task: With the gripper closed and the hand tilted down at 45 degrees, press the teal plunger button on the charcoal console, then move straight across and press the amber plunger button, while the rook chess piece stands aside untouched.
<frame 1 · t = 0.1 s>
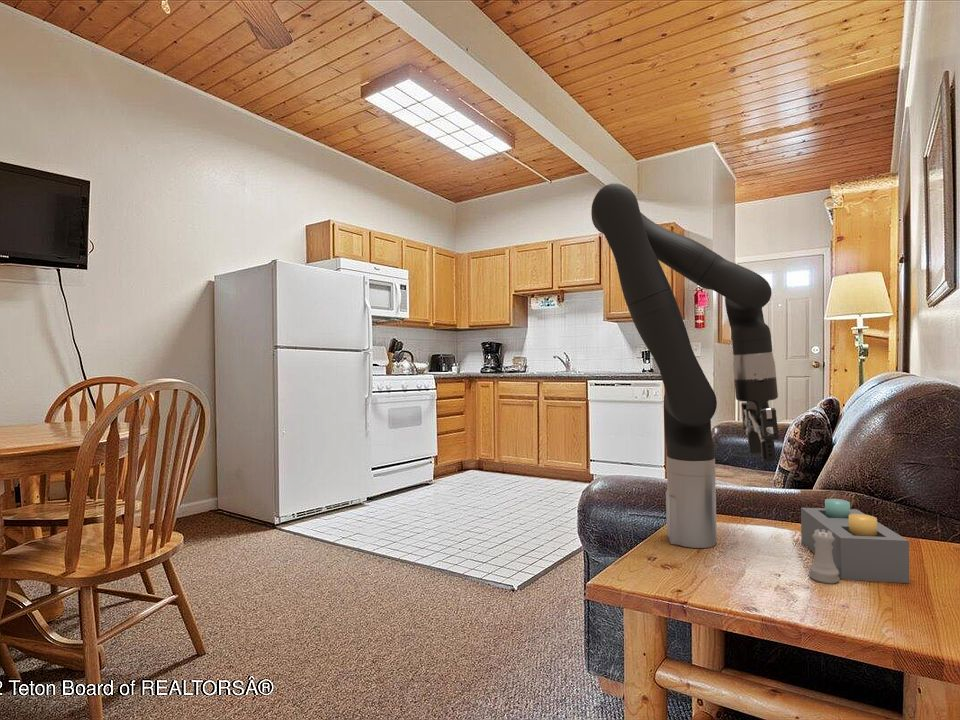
hand: (762, 457, 108), 17 cm above the table, tool pointing down, fingers open, 8 cm apart
amber button: (862, 527, 94), point 8 cm above the table, slide at 0.0 cm
console: (850, 560, 99), on the table
rook chess piece: (824, 580, 91), on the table
teal button: (837, 510, 103), point 8 cm above the table, slide at 0.0 cm
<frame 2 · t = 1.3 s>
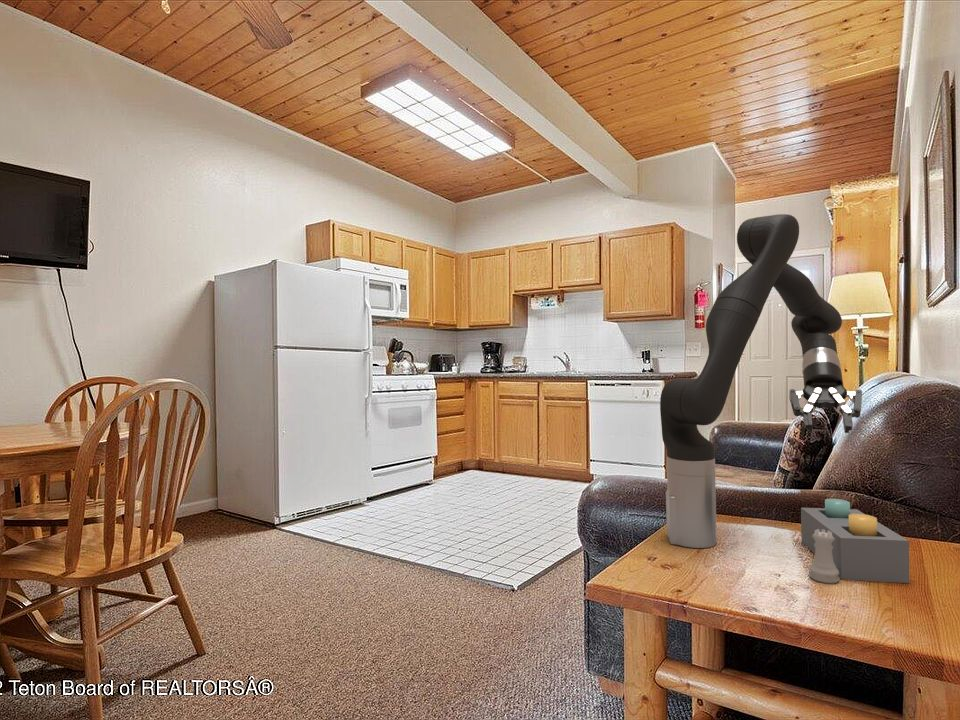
hand: (828, 429, 115), 21 cm above the table, tool tilted 45°, fingers open, 6 cm apart
nothing on the table moved.
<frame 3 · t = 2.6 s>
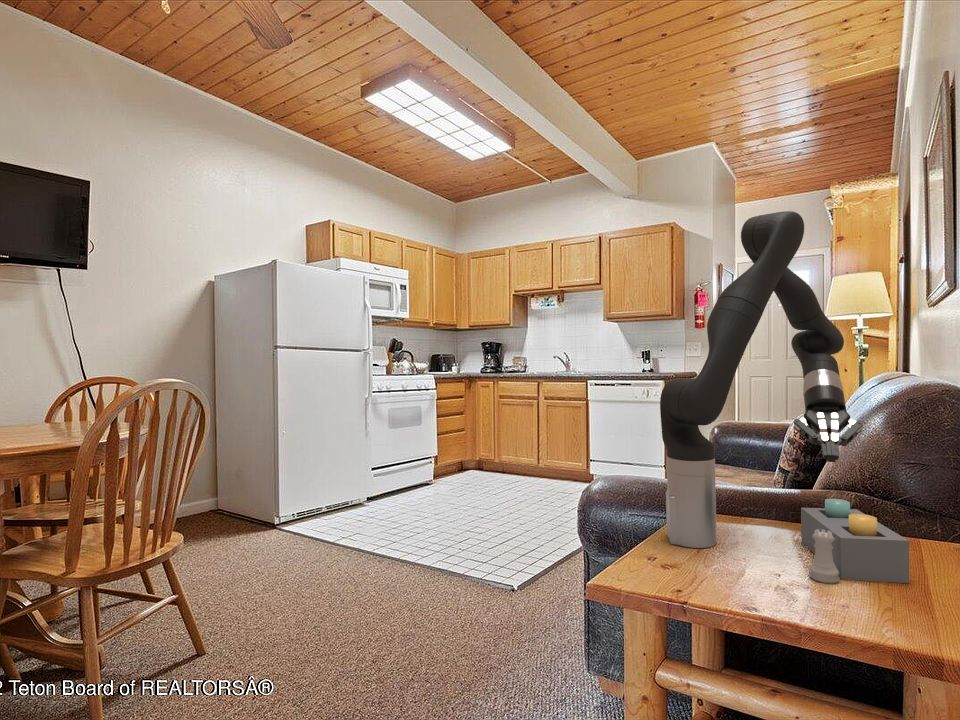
hand: (831, 459, 109), 16 cm above the table, tool tilted 45°, fingers closed
nothing on the table moved.
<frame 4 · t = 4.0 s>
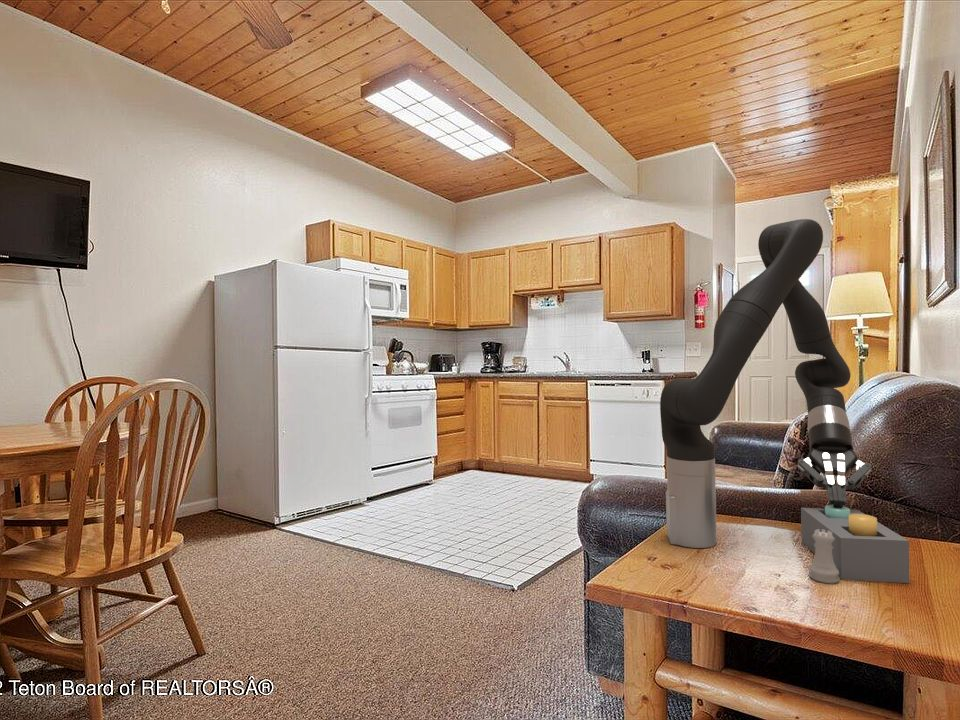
hand: (838, 505, 103), 9 cm above the table, tool tilted 45°, fingers closed
teal button: (837, 517, 103), point 6 cm above the table, slide at 1.3 cm, touching gripper
everything else where it was.
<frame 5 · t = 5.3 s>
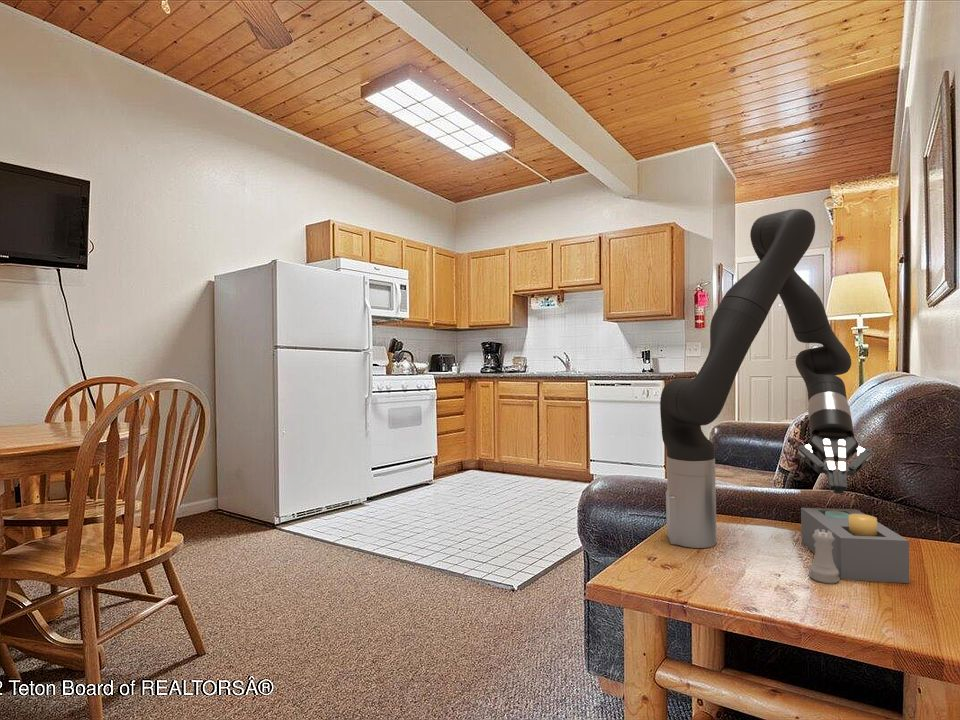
hand: (838, 490, 102), 12 cm above the table, tool tilted 45°, fingers closed
teal button: (837, 522, 103), point 5 cm above the table, slide at 2.4 cm
everything else where it was.
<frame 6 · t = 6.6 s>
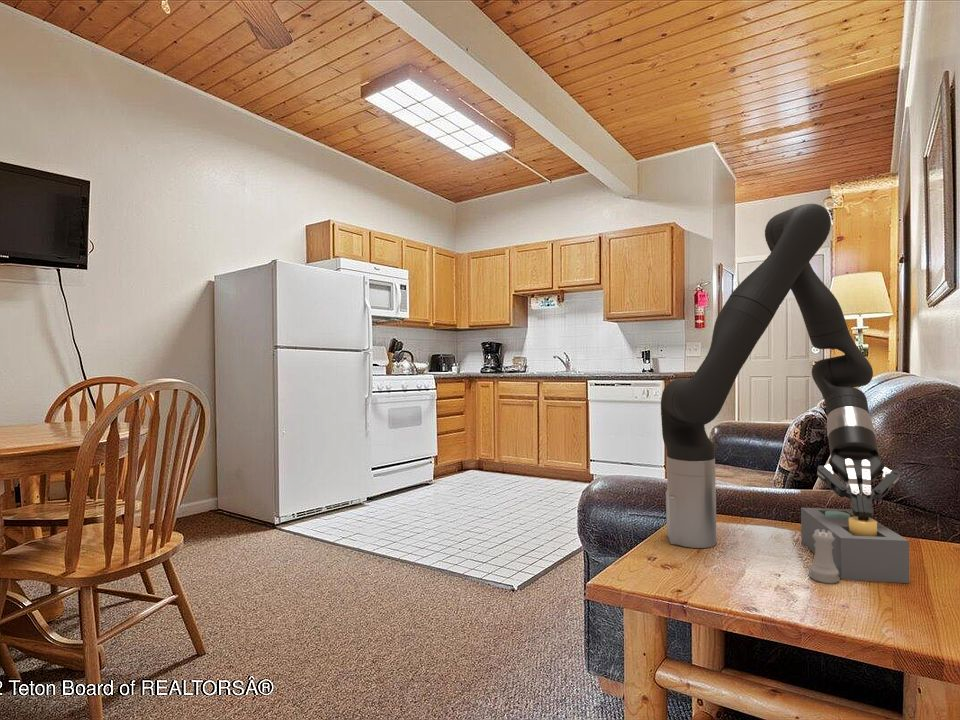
hand: (864, 517, 93), 10 cm above the table, tool tilted 45°, fingers closed
amber button: (862, 530, 94), point 7 cm above the table, slide at 0.6 cm, touching gripper
everything else where it was.
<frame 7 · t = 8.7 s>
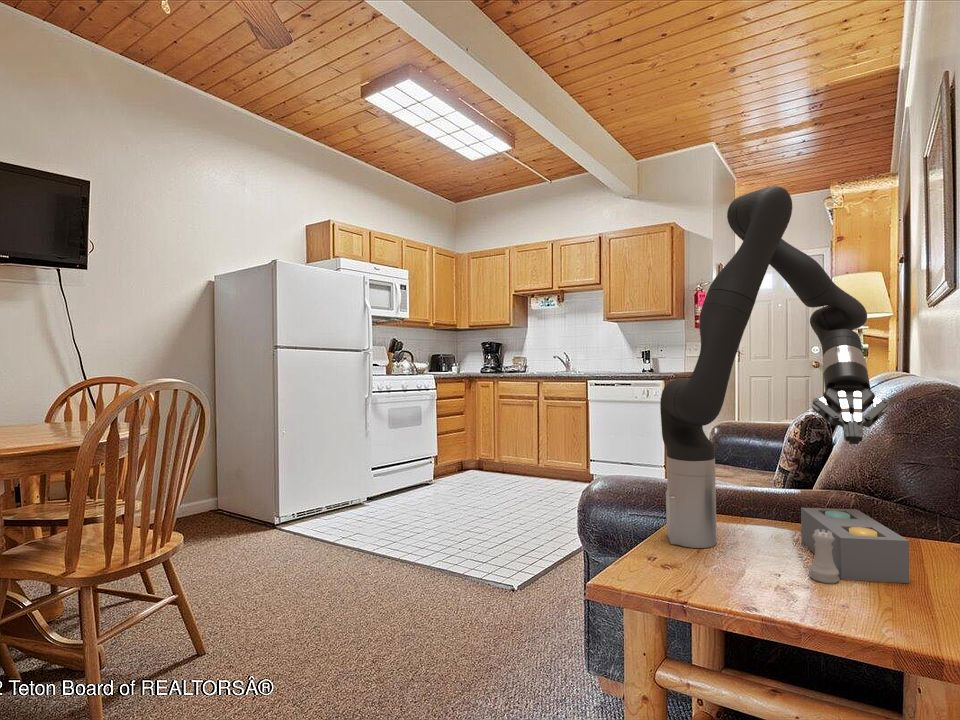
hand: (854, 441, 100), 21 cm above the table, tool tilted 45°, fingers closed
amber button: (862, 540, 94), point 5 cm above the table, slide at 2.4 cm
everything else where it was.
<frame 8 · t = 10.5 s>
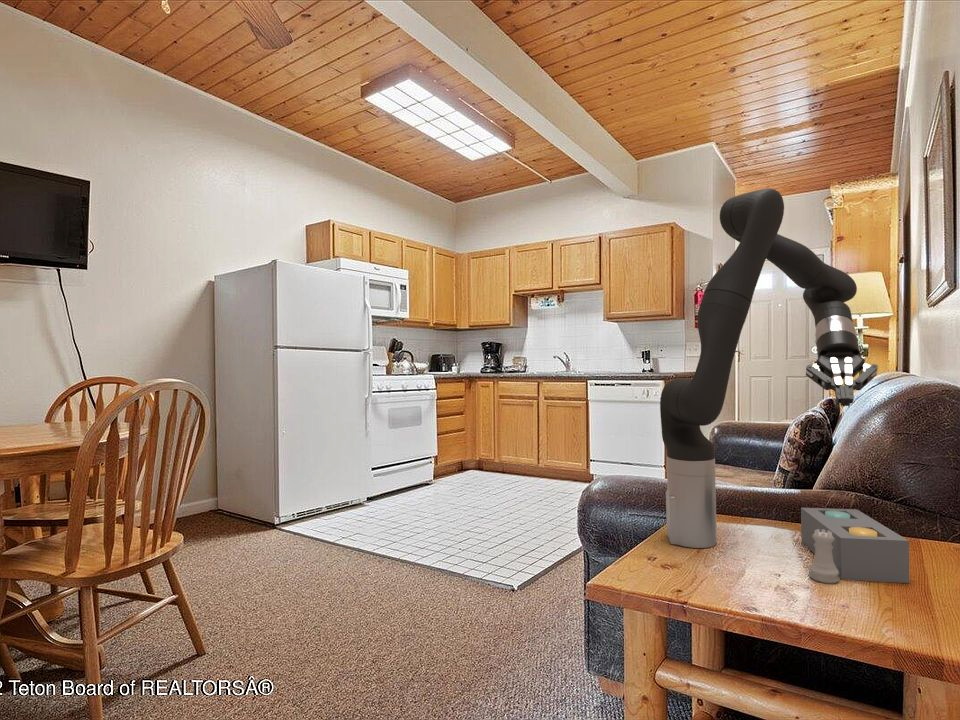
hand: (845, 403, 106), 28 cm above the table, tool tilted 45°, fingers closed
nothing on the table moved.
at the end: teal button slide at 2.4 cm; amber button slide at 2.4 cm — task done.
